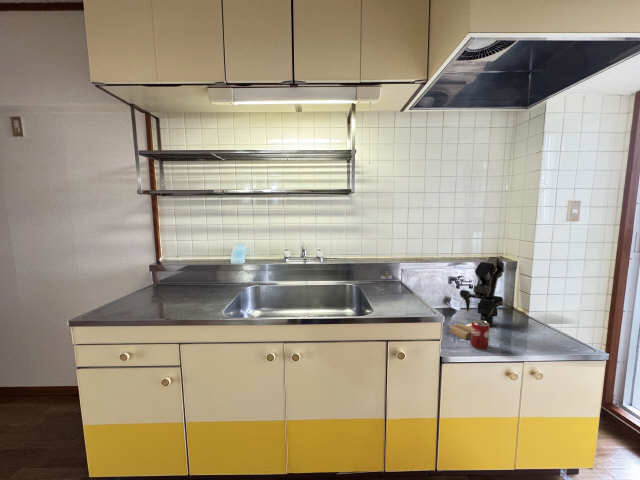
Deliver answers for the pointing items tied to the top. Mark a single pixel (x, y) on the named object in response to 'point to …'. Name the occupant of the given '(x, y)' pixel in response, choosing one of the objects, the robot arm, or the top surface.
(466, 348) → the top surface
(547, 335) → the top surface
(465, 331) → the base brick
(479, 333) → the soda can
